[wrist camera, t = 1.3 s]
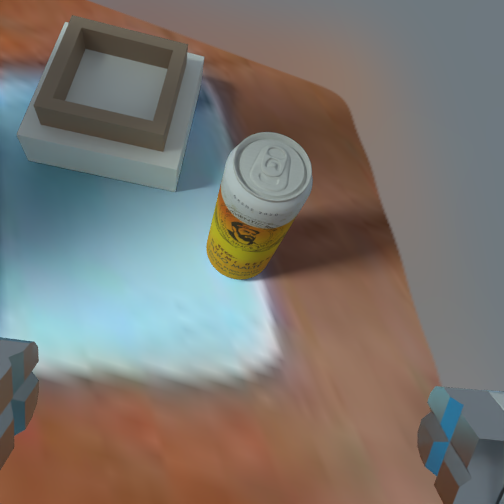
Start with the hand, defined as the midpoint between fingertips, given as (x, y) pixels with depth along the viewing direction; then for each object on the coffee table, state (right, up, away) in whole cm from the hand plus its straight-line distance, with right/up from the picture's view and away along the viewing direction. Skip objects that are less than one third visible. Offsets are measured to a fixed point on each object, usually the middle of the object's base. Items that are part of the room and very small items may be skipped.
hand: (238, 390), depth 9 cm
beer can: (-1, +3, +34) cm, 34 cm away
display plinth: (-13, +16, +37) cm, 43 cm away
